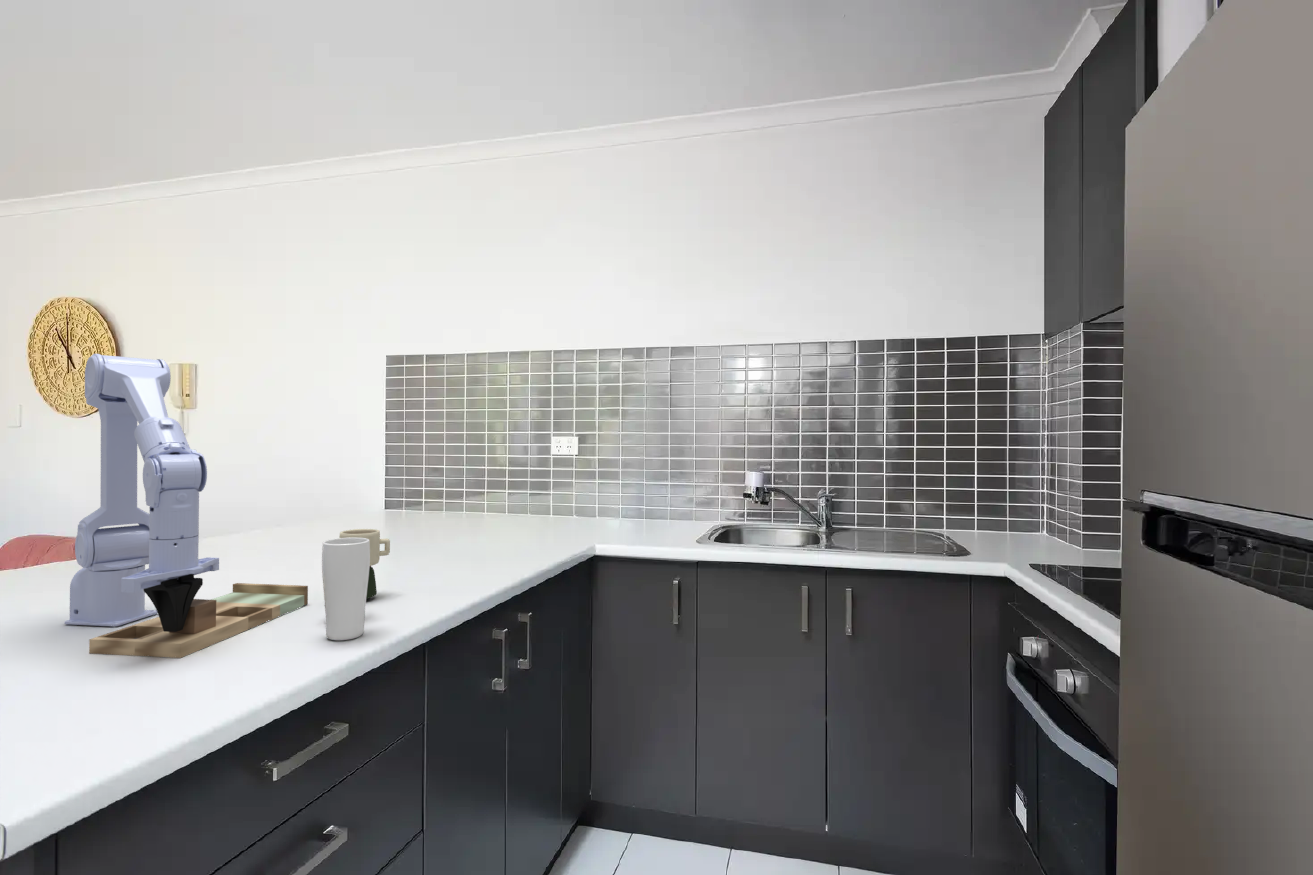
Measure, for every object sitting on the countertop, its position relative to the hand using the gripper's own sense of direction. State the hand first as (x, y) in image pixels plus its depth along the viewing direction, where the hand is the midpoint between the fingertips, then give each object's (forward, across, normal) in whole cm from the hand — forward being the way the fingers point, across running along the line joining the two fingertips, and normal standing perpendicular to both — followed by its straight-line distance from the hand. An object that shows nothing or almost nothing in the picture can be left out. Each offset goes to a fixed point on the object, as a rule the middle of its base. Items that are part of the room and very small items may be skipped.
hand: (173, 630), depth 92 cm
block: (+1, +3, 0) cm, 4 cm away
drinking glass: (+3, +10, -20) cm, 23 cm away
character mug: (+3, +30, -10) cm, 32 cm away
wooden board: (+3, +11, +4) cm, 12 cm away
